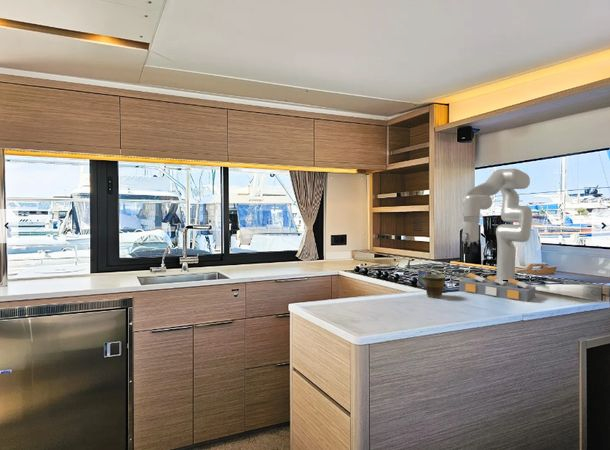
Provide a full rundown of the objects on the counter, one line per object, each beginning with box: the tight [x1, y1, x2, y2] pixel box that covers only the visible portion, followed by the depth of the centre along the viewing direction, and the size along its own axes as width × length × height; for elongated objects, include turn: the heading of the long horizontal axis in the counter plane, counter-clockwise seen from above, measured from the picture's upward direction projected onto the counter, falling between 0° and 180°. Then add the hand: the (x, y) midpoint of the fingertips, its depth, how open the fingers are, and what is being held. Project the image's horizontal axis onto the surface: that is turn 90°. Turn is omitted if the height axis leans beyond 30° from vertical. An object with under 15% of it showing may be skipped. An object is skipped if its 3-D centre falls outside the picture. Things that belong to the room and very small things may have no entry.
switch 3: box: [507, 278, 529, 288], centre depth 200 cm, size 4×8×2 cm, turn 46°
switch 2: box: [486, 275, 507, 285], centre depth 207 cm, size 4×8×2 cm, turn 46°
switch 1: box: [466, 272, 486, 282], centre depth 214 cm, size 4×8×2 cm, turn 46°
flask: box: [417, 266, 432, 288], centre depth 223 cm, size 9×3×11 cm, turn 28°
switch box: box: [458, 277, 536, 302], centre depth 207 cm, size 13×32×6 cm, turn 46°
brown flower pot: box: [417, 273, 446, 299], centre depth 203 cm, size 13×10×10 cm
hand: (470, 253), depth 215 cm, fingers open, 9 cm apart
